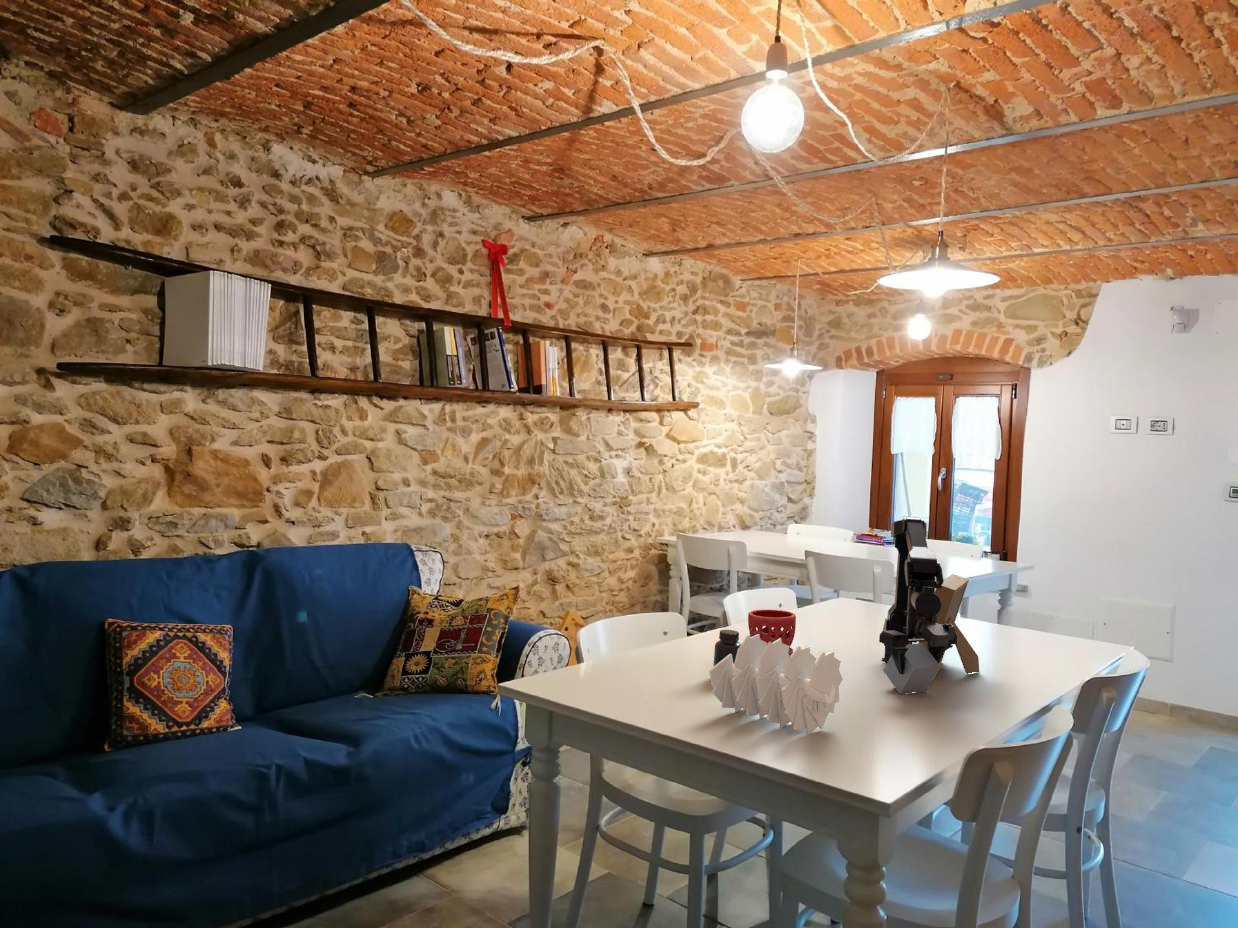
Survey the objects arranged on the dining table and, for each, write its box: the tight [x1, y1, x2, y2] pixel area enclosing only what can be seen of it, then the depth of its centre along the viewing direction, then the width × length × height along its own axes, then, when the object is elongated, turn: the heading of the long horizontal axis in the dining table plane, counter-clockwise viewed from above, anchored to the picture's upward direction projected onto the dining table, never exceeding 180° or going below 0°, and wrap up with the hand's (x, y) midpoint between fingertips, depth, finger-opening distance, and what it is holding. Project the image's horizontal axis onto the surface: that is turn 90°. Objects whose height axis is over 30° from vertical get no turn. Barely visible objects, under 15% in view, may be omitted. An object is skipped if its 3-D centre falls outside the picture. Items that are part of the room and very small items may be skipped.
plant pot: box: [747, 609, 797, 657], centre depth 236 cm, size 13×13×12 cm
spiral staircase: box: [708, 634, 843, 736], centre depth 180 cm, size 18×18×25 cm
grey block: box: [883, 642, 941, 695], centre depth 206 cm, size 8×8×9 cm
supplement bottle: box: [712, 629, 742, 668], centre depth 211 cm, size 7×7×12 cm
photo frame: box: [918, 573, 980, 674], centre depth 224 cm, size 15×22×25 cm
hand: (916, 672), depth 204 cm, fingers open, 9 cm apart
